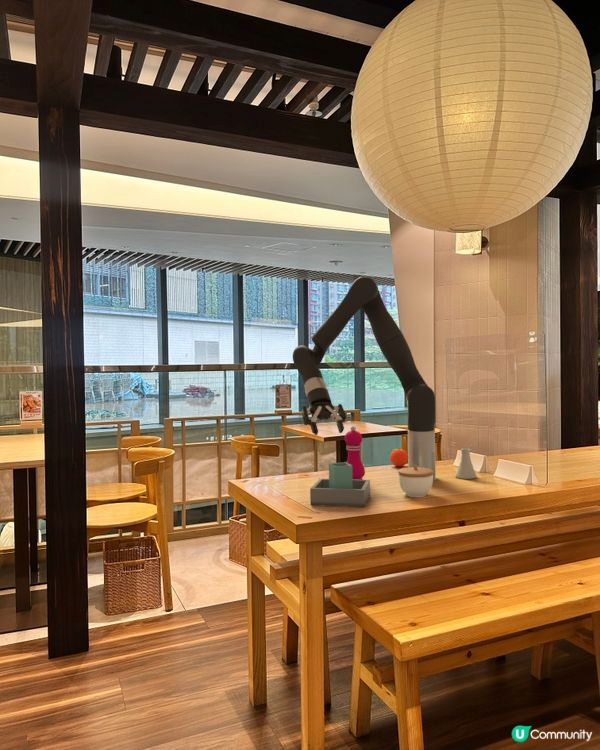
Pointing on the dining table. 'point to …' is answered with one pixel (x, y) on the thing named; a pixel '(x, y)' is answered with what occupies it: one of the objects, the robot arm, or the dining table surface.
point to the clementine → (398, 457)
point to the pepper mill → (354, 453)
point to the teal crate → (340, 476)
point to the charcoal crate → (340, 494)
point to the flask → (466, 466)
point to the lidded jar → (415, 480)
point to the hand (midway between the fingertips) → (329, 432)
